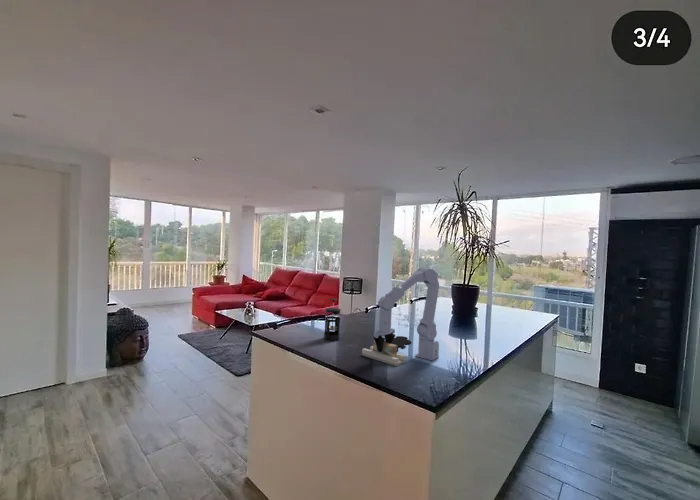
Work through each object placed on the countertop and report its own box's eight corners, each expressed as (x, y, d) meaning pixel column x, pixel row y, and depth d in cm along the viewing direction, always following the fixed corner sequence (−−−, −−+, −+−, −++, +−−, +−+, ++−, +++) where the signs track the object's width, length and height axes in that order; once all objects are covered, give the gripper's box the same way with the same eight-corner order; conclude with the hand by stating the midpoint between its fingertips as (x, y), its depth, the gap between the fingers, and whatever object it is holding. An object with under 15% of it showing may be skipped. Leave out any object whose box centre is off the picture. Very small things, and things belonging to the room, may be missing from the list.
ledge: (406, 361, 153) (406, 355, 153) (396, 366, 147) (396, 359, 147) (372, 351, 166) (372, 345, 166) (361, 355, 160) (362, 349, 160)
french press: (333, 342, 179) (335, 300, 179) (319, 339, 184) (321, 298, 184) (344, 337, 190) (346, 298, 190) (330, 335, 194) (332, 296, 194)
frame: (396, 359, 153) (397, 345, 153) (392, 360, 151) (393, 346, 151) (376, 352, 161) (376, 339, 161) (372, 354, 159) (373, 340, 159)
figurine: (395, 353, 166) (418, 341, 191) (395, 351, 166) (418, 339, 191) (369, 346, 175) (394, 336, 200) (369, 345, 175) (394, 334, 200)
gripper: (387, 318, 164) (385, 345, 164) (369, 322, 154) (367, 351, 154) (398, 321, 160) (397, 348, 160) (381, 325, 149) (379, 354, 149)
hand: (383, 350), depth 156 cm, fingers open, 6 cm apart
